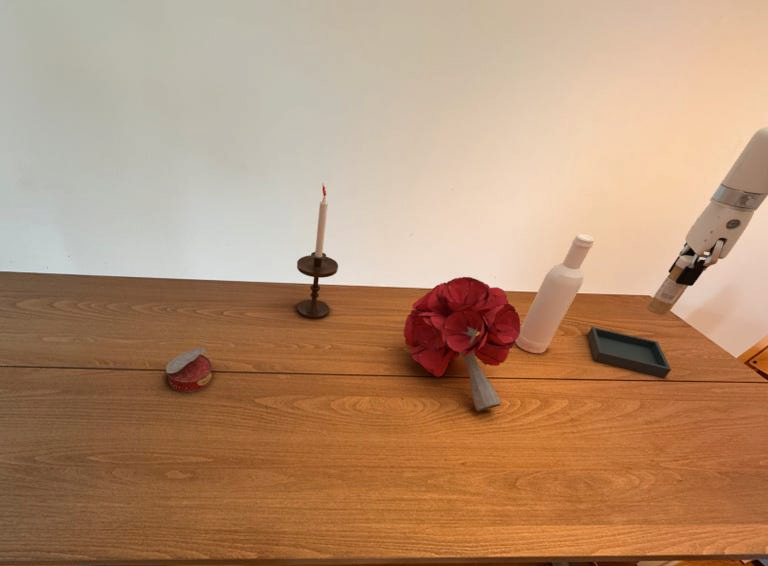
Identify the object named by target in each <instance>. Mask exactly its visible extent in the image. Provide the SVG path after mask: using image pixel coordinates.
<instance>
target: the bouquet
mask: <svg viewBox="0 0 768 566" xmlns="http://www.w3.org/2000/svg"><path fill="white" fill-rule="evenodd" d="M507 298H508V297H507V294H506V292H505V290H504V289H502V288H499V286H498V287H497V286H496V287H495V286H494V287H491V286H490V285H489V284H487V283H485V282H484V281H481V280H479V279H477V278H475V277H471V276H461V277H455V278H452V279H450V280H448V281H446V282H441V283H439V284H437V285H435V286H434V287H433V288H432V290H430V291H429V292H426V294H424V295H423V296H422V297H420V298H418V299H416V301H415V302H413V303H412V306H411V310H410V313H409V314H408V315H407V317H406V319H405V323H404V328H403V337H404V338H405V340H404V342H405V344H406V346H408V347H409V348H410V347H411V348H410V349H409V351H408V352H409V353H410V354H411V357H412V359H413V360H414V361H415V362H417V363H418V364H420V365H421V366H423V368H424V370H426V372H427V373H430V374H431V375H434V376H435V377H437V378H439V377H442V376H444V374H445V372H446V370H447V369H448V366H449V362H452V361H454V360H456V359H458V358H459V357H460V356H461V358H462V360H463V361H464V364H465V366H466V368H467V372H468V376H469V384H470V393H471V397H472V399H471V400H472V403H473V405H474V408H475V410H476V412H480V411H486V410H489V409H493V408H497V407H499V406H501V405H502V403H501V400H500V397H499V395H498V393H497V391H496V389H495V388H494V386H493V385H492V383H491V381H490V380H489V379H488V377H487V376H486V374H485V373H484V372H483V371H482V369H481V367H480V365H479V363H478V360H479V361H481V363H483V364H484V365H485V366H487V365H488V366H490V367H498V366H500V364H502V363H505V361H506V360H507V359H508V356H509V354H510V350H511V349H512V348H514V346H516V345H517V344H516V341H515V340H516V339H517V338H518V337H519V334H520V328H521V319H520V318H521V317H520V316H519V313H518V312H517V311H516V308H515V307H514V305H512V304H510V302H509V300H508V299H507Z"/></svg>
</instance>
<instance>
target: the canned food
mask: <svg viewBox="0 0 768 566" xmlns="http://www.w3.org/2000/svg"><path fill="white" fill-rule="evenodd" d="M206 351H207V348H206V347H199V348H193V349H191V350H187V351H186V352H183V353H181V354H178V355H177V356H174V357H173V358H172V359H171V360H170V361H169V362H168V363H167V365H166V366H165V371H166V375H167V381H168V383H169V385H170V387H172V388H173V389H174V390H176V391H179V392H183V393H192V392H197V391H200V390H202V389H204V388H205V387H207V386H208V385H209V384H210V383H211V382H212V380H213V370H212V362H211V360H210V359H209V358H208V357H207V356H205V355H202V354H204V353H205V352H206ZM170 382H171V383H172V384H171V383H170ZM174 385H175V386H174ZM176 386H177V387H176ZM179 387H180V388H179ZM186 388H187V389H186Z"/></svg>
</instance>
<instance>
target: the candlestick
mask: <svg viewBox="0 0 768 566" xmlns="http://www.w3.org/2000/svg"><path fill="white" fill-rule="evenodd" d="M322 195H323V196H322V199H321V201H320V202H319V208H318V219H317V229H316V240H315V251H313V252H311V253H310V254H309V255H305V256H302V257H300V258H299V259H298V260H297V262H296V269H297V271H298V272H300V274H302V275H305V276H307V277H312V278H313V282H312V284H311V285H310V286H309V288H310V291H311V293H309V296H310V297H311V299H304V300H301V301H300V302H298V304H297V307H296V308H297V309H296V311H297V313H298V315H300V316H301V317H303V318H305V319H308V320H321V319H324V318H326V317H327V316H328V315H329V312H330V306H329V305H328V304H327V303H326V302H324V301H322V300H320V299H317V298H319V297H320V294H319V293H318V292H319V291H320V290H321V285H319V280H320V278H323V279H324V278H329V277H332V276H334V275H336V274H337V273H338V271H339V263H338V262H337V261H336V260H335V259H333V258H331V257H328V256H327V253H324V252H323V251H324V243H325V234H326V224H327V223H326V222H327V216H328V215H327V214H328V204H329V203H328V202H327V198H326V196H327V191H326V187H325V185H324V184H322Z"/></svg>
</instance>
